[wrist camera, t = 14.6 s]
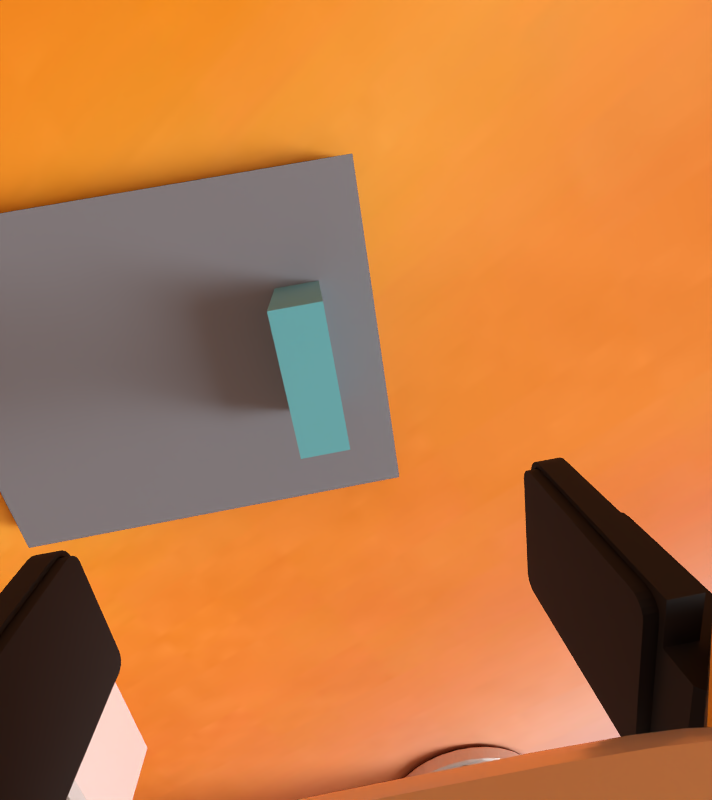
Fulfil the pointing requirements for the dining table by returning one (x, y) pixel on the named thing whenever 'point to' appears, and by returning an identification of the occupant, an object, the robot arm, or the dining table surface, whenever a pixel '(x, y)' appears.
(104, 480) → the lid
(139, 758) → the tub
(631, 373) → the dining table surface
